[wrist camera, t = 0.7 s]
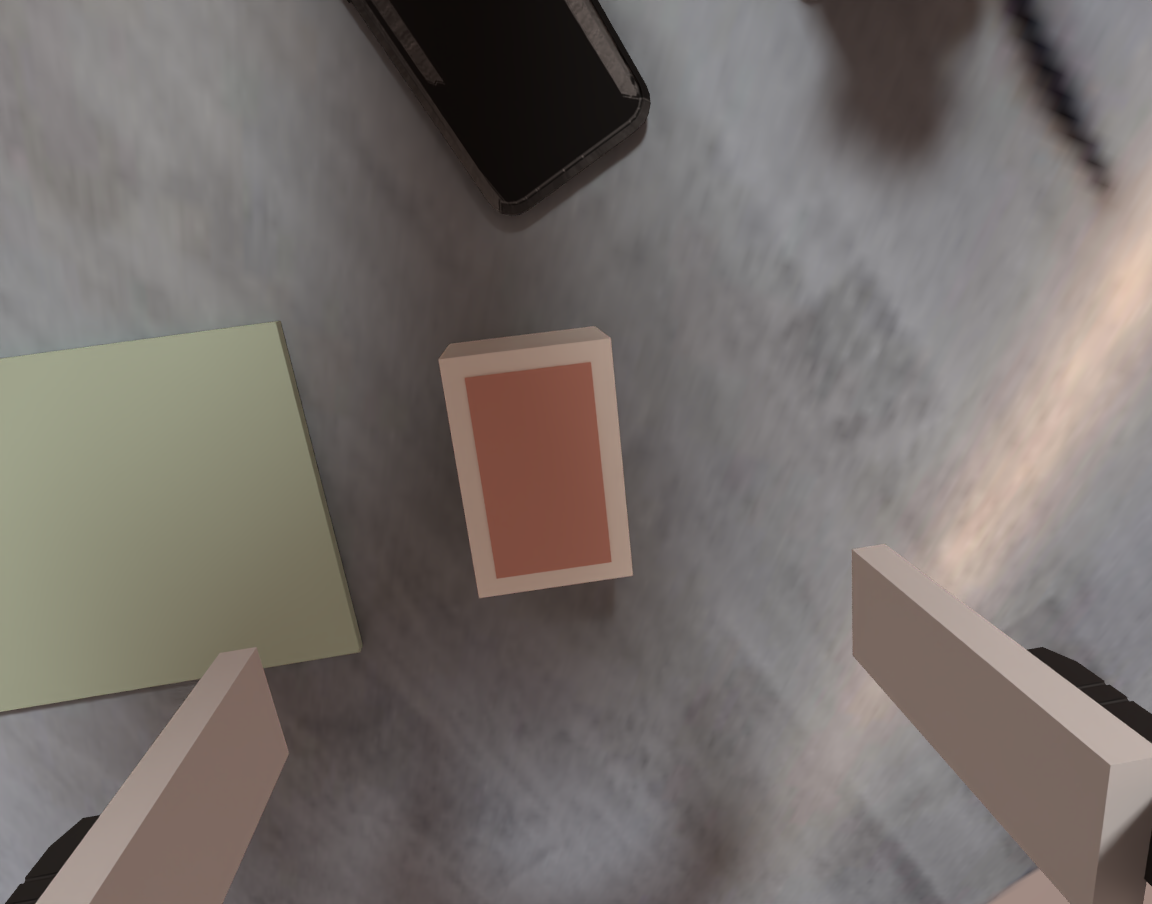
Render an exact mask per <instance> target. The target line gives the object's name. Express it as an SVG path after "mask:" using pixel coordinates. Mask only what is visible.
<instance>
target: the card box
mask: <svg viewBox="0 0 1152 904" xmlns="http://www.w3.org/2000/svg"><path fill="white" fill-rule="evenodd" d="M438 360H439V366H440V372H441V378H442V384H443V390H444V395H445V401H446V407H447V413H448V419H449V425H450V431H451V436H452V442H453V448H454V454H455V460H456V466H457V472H458V478H459V483H460V489H461V495H462V501H463V507H464V513H465V519H466V525H467V530H468V536H469V542H470V548H471V554H472V560H473V566H474V572H475V577H476V583H477V589H478V595H479V598H484V597H491V596H497V595H504V594H511V593H518V592H525V591H532V590H538V589H545V588H552V587H559V586H566V585H573V584H579V583H586V582H593V581H600V580H607V579H613V578H620V577H627V576H633V570H632V560H631V549H630V538H629V528H628V517H627V506H626V496H625V485H624V474H623V464H622V453H621V442H620V432H619V421H618V410H617V400H616V389H615V378H614V368H613V357H612V346H611V338H610V337H609V336H607V335H606V334H605V333H603V332H602V331H601V330H599V329H598V328H597V327H595V326H591V327H583V328H575V329H567V330H558V331H550V332H542V333H534V334H526V335H517V336H509V337H501V338H493V339H485V340H476V341H468V342H460V343H452V344H449V345H448V346H447V348H446V349H445V351H444V352H443V354H442V355H441V356H440V358H439V359H438Z"/></svg>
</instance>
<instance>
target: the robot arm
mask: <svg viewBox="0 0 1152 904" xmlns="http://www.w3.org/2000/svg"><path fill="white" fill-rule="evenodd" d="M852 630H853V656H854V657H855V659H856V660H857V661H858V662H859V663H860V664H861V665H862V667H863V668H864V669H865V670H866V671H867V672H868V673H869V675H870V676H871V677H872V678H873V679H874V680H875V681H876V683H877V684H878V685H879V686H880V687H881V688H882V689H883V691H884V692H885V693H886V694H887V695H888V696H889V697H890V699H891V700H892V701H893V702H894V703H895V704H896V705H897V707H898V708H899V709H900V710H901V711H902V712H903V713H904V714H905V716H906V717H907V718H908V719H909V720H910V721H911V722H912V724H913V725H914V726H915V727H916V728H917V729H918V730H919V732H920V733H921V734H922V735H923V736H924V737H925V738H926V740H927V741H928V742H929V743H930V744H931V745H932V746H933V748H934V749H935V750H936V751H937V752H938V753H939V754H940V756H941V757H942V758H943V759H944V760H945V761H946V762H947V764H948V765H949V766H950V767H951V768H952V769H953V770H954V772H955V773H956V774H957V775H958V776H959V777H960V778H961V779H962V781H963V782H964V783H965V784H966V785H967V786H968V787H969V789H970V790H971V791H972V792H973V793H974V794H975V795H976V797H977V798H978V799H979V800H980V801H981V802H982V803H983V805H984V806H985V807H986V808H987V809H988V810H989V811H990V813H991V814H992V815H993V816H994V817H995V818H996V819H997V821H998V822H999V823H1000V824H1001V825H1002V826H1003V827H1004V829H1005V830H1006V831H1007V832H1008V833H1009V834H1010V835H1011V837H1012V838H1013V839H1014V840H1015V841H1016V842H1017V843H1018V844H1019V846H1020V847H1021V848H1022V849H1023V850H1024V851H1025V852H1026V854H1027V855H1028V856H1029V857H1030V858H1031V859H1032V860H1033V862H1034V863H1035V864H1036V865H1037V866H1038V867H1039V868H1040V870H1041V871H1042V872H1043V873H1044V874H1045V875H1046V876H1047V878H1048V879H1049V880H1050V881H1051V882H1052V883H1053V884H1054V886H1055V887H1056V888H1057V889H1058V890H1059V891H1060V892H1061V894H1062V895H1063V896H1064V897H1065V898H1066V899H1067V900H1068V902H1070V904H1143V900H1144V894H1145V887H1146V882H1148V883H1149V884H1150V885H1151V886H1152V714H1151V713H1149V712H1148V711H1146V710H1145V709H1144V708H1142V707H1141V706H1139V705H1138V704H1136V703H1135V702H1134V701H1130V702H1129V701H1128V699H1127V697H1126V696H1125V695H1124V694H1122V693H1121V692H1119V691H1118V690H1116V689H1115V688H1114V687H1112V686H1111V685H1106V684H1105V683H1104V680H1102V679H1101V678H1099V677H1098V676H1097V675H1095V674H1094V673H1092V672H1091V671H1089V670H1088V669H1087V668H1085V667H1084V666H1082V665H1081V664H1079V663H1078V662H1076V661H1074V660H1072V659H1069V658H1067V657H1065V656H1062V655H1060V654H1058V653H1055V652H1053V651H1051V650H1048V649H1046V648H1044V647H1040V648H1034V649H1028V650H1026V649H1025V648H1023V647H1022V646H1021V645H1019V644H1018V643H1017V642H1015V641H1014V640H1013V639H1011V638H1010V637H1009V636H1007V635H1006V634H1004V633H1003V632H1002V631H1000V630H999V629H998V628H996V627H995V626H994V625H992V624H991V623H990V622H988V621H987V620H986V619H984V618H983V617H982V616H980V615H979V614H978V613H976V612H975V611H974V610H972V609H971V608H970V607H968V606H967V605H966V604H964V603H963V602H962V601H960V600H959V599H958V598H956V597H955V596H954V595H952V594H951V593H950V592H948V591H947V590H946V589H944V588H943V587H942V586H940V585H939V584H938V583H936V582H935V581H934V580H932V579H931V578H930V577H928V576H927V575H926V574H924V573H923V572H922V571H920V570H919V569H918V568H916V567H915V566H914V565H912V564H911V563H910V562H908V561H907V560H906V559H904V558H903V557H902V556H900V555H899V554H898V553H896V552H895V551H894V550H892V549H891V548H890V547H888V546H887V545H886V544H881V545H875V546H869V547H863V548H857V549H852ZM288 755H289V751H288V748H287V745H286V741H285V738H284V735H283V732H282V728H281V725H280V722H279V719H278V715H277V712H276V709H275V705H274V702H273V699H272V696H271V692H270V689H269V686H268V683H267V679H266V676H265V673H264V669H263V666H262V663H261V660H260V656H259V653H258V650H257V647H253V648H247V649H241V650H234V651H228V652H222V653H219V655H218V656H217V657H216V659H215V660H214V661H213V663H212V664H211V666H210V667H209V668H208V670H207V671H206V672H205V674H204V675H203V676H202V678H201V679H200V680H199V682H198V683H197V685H196V686H195V687H194V689H193V690H192V691H191V693H190V694H189V695H188V697H187V698H186V700H185V701H184V702H183V704H182V705H181V706H180V708H179V709H178V710H177V712H176V713H175V714H174V716H173V717H172V719H171V720H170V721H169V723H168V724H167V725H166V727H165V728H164V729H163V731H162V732H161V734H160V735H159V736H158V738H157V739H156V740H155V742H154V743H153V744H152V746H151V747H150V748H149V750H148V751H147V753H146V754H145V755H144V757H143V758H142V759H141V761H140V762H139V763H138V765H137V766H136V767H135V769H134V770H133V772H132V773H131V774H130V776H129V777H128V778H127V780H126V781H125V782H124V784H123V785H122V787H121V788H120V789H119V791H118V792H117V793H116V795H115V796H114V797H113V799H112V800H111V801H110V803H109V804H108V806H107V807H106V808H105V810H104V811H103V812H102V814H101V815H98V816H92V817H86V818H83V819H81V820H80V821H79V822H78V823H77V824H76V825H74V826H73V827H72V828H71V829H70V830H69V831H67V832H66V833H65V834H64V835H63V836H61V837H60V838H59V839H58V840H57V841H56V842H54V843H53V844H52V845H51V846H50V847H49V848H48V849H47V851H46V852H45V853H44V854H43V856H42V857H41V858H40V859H39V861H38V862H37V863H36V865H35V866H34V867H33V868H32V870H31V871H30V872H29V874H28V875H27V876H26V877H25V883H23V884H20V885H19V886H18V888H17V889H16V890H15V891H14V893H13V894H12V895H11V897H10V898H9V899H8V900H7V902H6V903H5V904H222V903H223V901H224V899H225V897H226V894H227V892H228V890H229V888H230V885H231V883H232V881H233V879H234V876H235V874H236V872H237V870H238V867H239V865H240V863H241V861H242V858H243V856H244V854H245V852H246V849H247V847H248V845H249V843H250V840H251V838H252V836H253V834H254V831H255V829H256V827H257V825H258V822H259V820H260V818H261V816H262V813H263V811H264V809H265V807H266V804H267V802H268V800H269V798H270V795H271V793H272V791H273V789H274V786H275V784H276V782H277V780H278V777H279V775H280V773H281V771H282V768H283V766H284V764H285V762H286V759H287V757H288Z"/></svg>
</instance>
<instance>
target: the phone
mask: <svg viewBox="0 0 1152 904" xmlns="http://www.w3.org/2000/svg"><path fill="white" fill-rule="evenodd" d="M347 1H348V2H349V3H350V2H352V3H353V4H354V6H355V7H356V9H357V10H358V12H359V13H360V15H361V16H362V18H363V19H364V21H365V22H366V24H367V25H368V26H369V28H370V29H371V31H372V32H373V34H374V35H375V37H376V38H377V40H378V41H379V43H380V44H381V45H382V47H383V48H384V50H385V51H386V53H387V54H388V56H389V57H390V59H391V60H392V62H393V63H394V65H395V66H396V67H397V69H398V70H399V72H400V73H401V75H402V76H403V78H404V79H405V81H406V82H407V84H408V85H409V87H410V88H411V89H412V91H413V92H414V94H415V95H416V97H417V98H418V100H419V101H420V103H421V104H422V106H423V107H424V109H425V110H426V111H427V113H428V114H429V116H430V117H431V119H432V120H433V122H434V123H435V125H436V126H437V128H438V129H439V130H440V132H441V133H442V135H443V136H444V138H445V139H446V141H447V142H448V144H449V145H450V147H451V148H452V150H453V151H454V152H455V154H456V155H457V157H458V158H459V160H460V161H461V163H462V164H463V166H464V167H465V169H466V170H467V172H468V173H469V174H470V176H471V177H472V179H473V180H474V182H475V183H476V185H477V186H478V188H479V189H480V191H481V192H482V194H483V195H484V196H485V198H486V199H487V201H488V202H489V203H490V205H491V206H492V207H493V208H494V209H495V210H497V211H499V212H500V213H502V214H506V215H511V216H512V215H519V214H522V213H524V212H526V211H528V210H529V209H530V208H532V207H533V206H534V205H536V204H537V203H539V202H540V201H541V200H543V199H544V198H545V197H547V196H548V195H549V194H551V193H552V192H554V191H555V190H556V189H558V188H559V187H560V186H562V185H563V184H564V183H566V182H567V181H568V180H570V179H571V178H573V177H574V176H575V175H577V174H578V173H579V172H581V171H582V170H583V169H585V168H586V167H588V166H589V165H590V164H592V163H593V162H594V161H596V160H597V159H598V158H600V157H601V156H603V155H604V154H605V153H607V152H608V151H609V150H611V149H612V148H613V147H615V146H616V145H618V144H619V143H620V142H622V141H623V140H624V139H626V138H627V137H628V136H630V135H631V134H633V133H634V132H635V131H636V130H637V129H638V128H639V127H640V126H641V125H642V124H643V123H644V121H645V120H646V118H647V116H648V114H649V109H650V94H649V91H648V89H647V86H646V84H645V82H644V80H643V79H642V77H641V75H640V73H639V72H638V70H637V68H636V66H635V65H634V63H633V61H632V59H631V58H630V56H629V54H628V52H627V51H626V49H625V47H624V45H623V44H622V42H621V40H620V38H619V37H618V35H617V33H616V31H615V30H614V28H613V26H612V24H611V23H610V21H609V19H608V17H607V16H606V14H605V12H604V10H603V9H602V7H601V5H600V3H599V2H598V0H347Z"/></svg>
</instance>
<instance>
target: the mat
mask: <svg viewBox="0 0 1152 904" xmlns="http://www.w3.org/2000/svg"><path fill="white" fill-rule="evenodd" d="M362 646H363V644H362V640H361V636H360V632H359V628H358V624H357V620H356V616H355V613H354V609H353V605H352V601H351V597H350V593H349V589H348V585H347V581H346V577H345V573H344V569H343V565H342V561H341V558H340V554H339V550H338V546H337V542H336V538H335V534H334V530H333V526H332V522H331V518H330V514H329V510H328V506H327V503H326V499H325V495H324V491H323V487H322V483H321V479H320V475H319V471H318V467H317V463H316V459H315V455H314V452H313V448H312V444H311V440H310V436H309V432H308V428H307V424H306V420H305V416H304V412H303V408H302V404H301V400H300V397H299V393H298V389H297V385H296V381H295V377H294V373H293V369H292V365H291V361H290V357H289V353H288V349H287V345H286V342H285V338H284V334H283V330H282V326H281V322H280V321H275V322H267V323H260V324H253V325H245V326H238V327H230V328H223V329H216V330H208V331H201V332H194V333H186V334H179V335H171V336H164V337H157V338H149V339H142V340H134V341H127V342H120V343H112V344H105V345H97V346H90V347H83V348H75V349H68V350H60V351H53V352H46V353H38V354H31V355H23V356H16V357H9V358H1V359H0V712H2V711H8V710H14V709H20V708H27V707H33V706H39V705H45V704H51V703H57V702H63V701H69V700H75V699H81V698H87V697H93V696H99V695H105V694H111V693H117V692H123V691H129V690H135V689H141V688H147V687H153V686H159V685H165V684H171V683H177V682H183V681H189V680H195V679H201V678H202V676H203V675H204V674H205V672H206V671H207V670H208V668H209V667H210V666H211V664H212V663H213V661H214V660H215V659H216V657H217V656H218V655H219V653H222V652H228V651H234V650H241V649H247V648H253V647H257V650H258V653H259V656H260V660H261V663H262V666H263V668H268V667H274V666H280V665H286V664H292V663H298V662H304V661H310V660H316V659H322V658H328V657H334V656H340V655H346V654H352V653H358V652H361V649H362Z"/></svg>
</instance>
